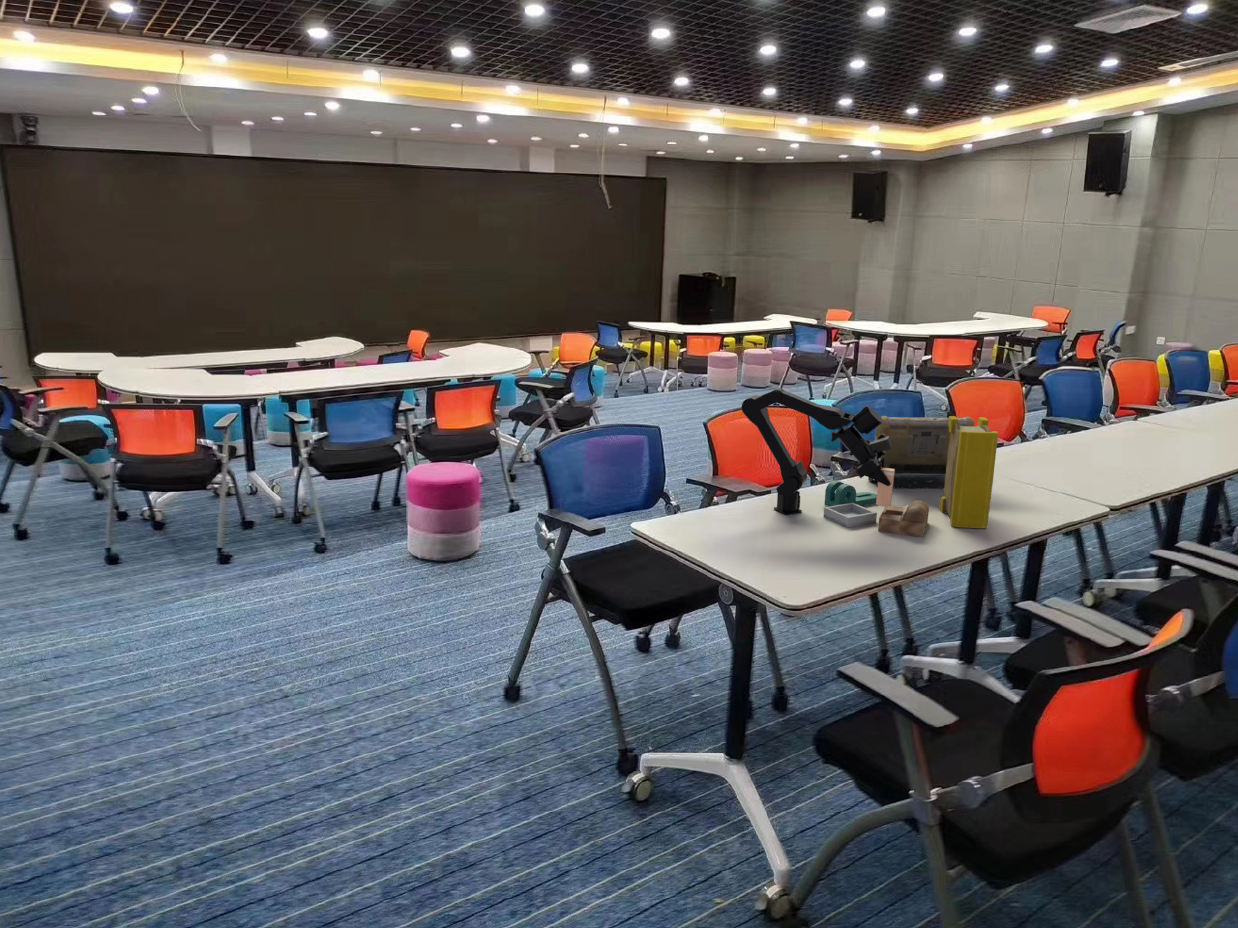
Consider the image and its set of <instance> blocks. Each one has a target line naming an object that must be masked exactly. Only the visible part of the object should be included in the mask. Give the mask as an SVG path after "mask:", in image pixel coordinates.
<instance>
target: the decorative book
mask: <svg viewBox="0 0 1238 928" xmlns="http://www.w3.org/2000/svg"><path fill="white" fill-rule="evenodd" d="M948 418H949V422H948V424H949V432H950V433H951V436H950V442H949V449H948V456H947V466H946V476H945V487H944V489H943V493H944V494H943V496H941V498H940V500H939V510H940V512H941V513H946V514H948V517H949V518H950V526H951V527H953V528H966V529H967V528H968V529H969V528H970V529H987V528H988V522H989V516H990V515H989V514H990V513H989V512H990V506H991V498H992V492H993V484H994V483H993V482H994V476H995V475H994V474H995V464H996V458H997V457H996V456H997V448H998V447H997V446H998V440H999V432H998V431H995V430H993V431H991V428H990V427H989V419H988V418H986V417H983V416H980V417H978V420H977V426H975V425H974V427H971V426H960V423H958V419H957V418H958V417H957V416H956V415H950V416H948Z"/></svg>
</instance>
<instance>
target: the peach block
mask: <svg viewBox="0 0 1238 928" xmlns="http://www.w3.org/2000/svg"><path fill="white" fill-rule="evenodd" d="M882 470H883V472H884V473H885V475H886V476H887V478H888V479H889V481H890V483H891V485H890V486H886V485H884V484H882V483H880V482H878V487H877V493H876V494H877V500H876V504H875V506H883V507H885V506H888V507H890V506H891V505H892V500H893V499H892V498H893V492H894V491H893V490H894V488H893V481H894V473H895V469H890V468H882Z"/></svg>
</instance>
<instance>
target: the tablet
mask: <svg viewBox="0 0 1238 928" xmlns="http://www.w3.org/2000/svg"><path fill="white" fill-rule="evenodd" d="M880 417H881V418H882V420H883V423H882V424H880V425H879V426H878V427H876V429H875V436H874V441H875V440H878V436H879V435H881V434H885V435H886V436H889V437H890V438H891V443H892V445H893V447H892V448H891V449H890V450H887V451H886V450H885V451H886V452H887V453H886V454H885V455H882V456H881V457H880V459H882V458H884V457H885V463H884V465H885V467H886V468H890V469H895V473H894V481H893V489H917V490H919V489H920V490H921V489H923V490H924V489H925V490H927V489H928V490H931V489H932V490H933V489H934V490H935V489H938V490H939V489H940V490H944V487H945V476H946V466H947V456H948V449H949V442H950V436H951V433H950V432H949V424H948V422H949V417H896V416H895V417H893V416H892V417H891V416H890V417H888V416H887V415H880ZM957 419H958V423H960V426H971V427H974V426H975V420H974V418H972V417H971V416H964V417H957ZM867 480H868V483H870V482H873V481H874V479H872V478H869V477H867ZM876 482H877V483H876V487H877V488H878V481H876Z"/></svg>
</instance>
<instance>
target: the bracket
mask: <svg viewBox="0 0 1238 928" xmlns="http://www.w3.org/2000/svg"><path fill="white" fill-rule="evenodd" d="M824 494H825V495H824V505H825V506H826V507H830V506H836V505H842V504H848V503H854V504H857V505H859V506H862V507H865V506H869V505H870V506H871V505H876V500H877V493H874V492H869V491H868V492H867V491H863V492H861V491H859V492H857V490H856V488H855V487H854V486H852V485H850V484H847V483H844V482H842V481H839V480H836V479H835V480H832V481H830V482H829V483H828V484H827V485H826V487H825V491H824Z"/></svg>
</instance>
